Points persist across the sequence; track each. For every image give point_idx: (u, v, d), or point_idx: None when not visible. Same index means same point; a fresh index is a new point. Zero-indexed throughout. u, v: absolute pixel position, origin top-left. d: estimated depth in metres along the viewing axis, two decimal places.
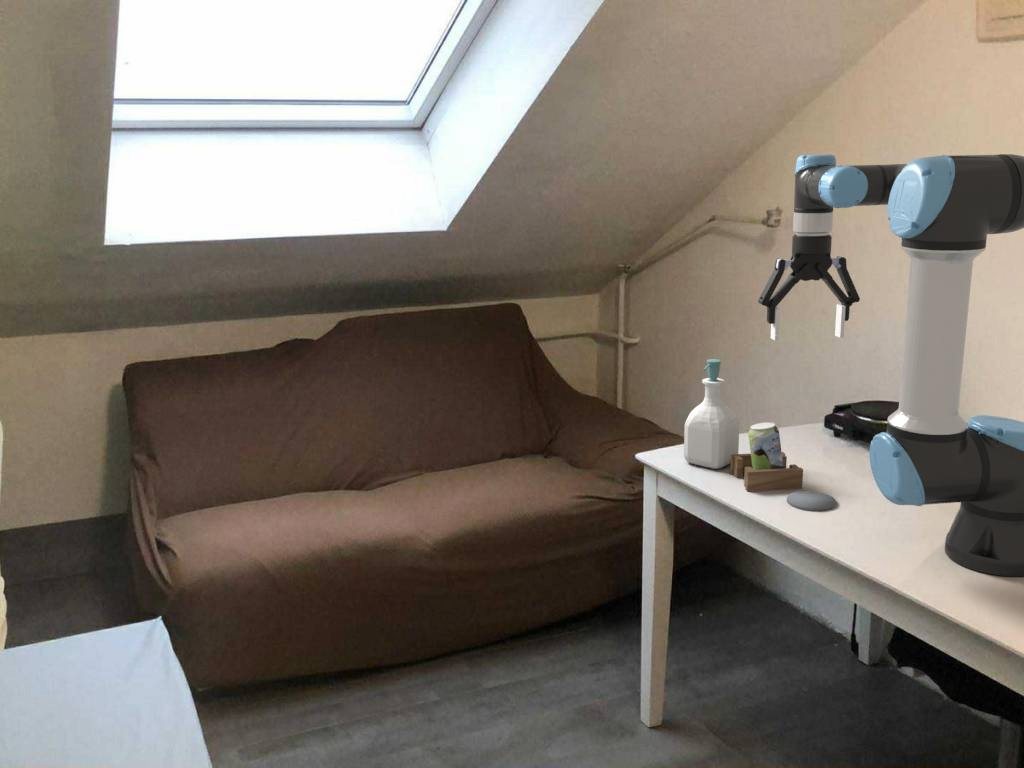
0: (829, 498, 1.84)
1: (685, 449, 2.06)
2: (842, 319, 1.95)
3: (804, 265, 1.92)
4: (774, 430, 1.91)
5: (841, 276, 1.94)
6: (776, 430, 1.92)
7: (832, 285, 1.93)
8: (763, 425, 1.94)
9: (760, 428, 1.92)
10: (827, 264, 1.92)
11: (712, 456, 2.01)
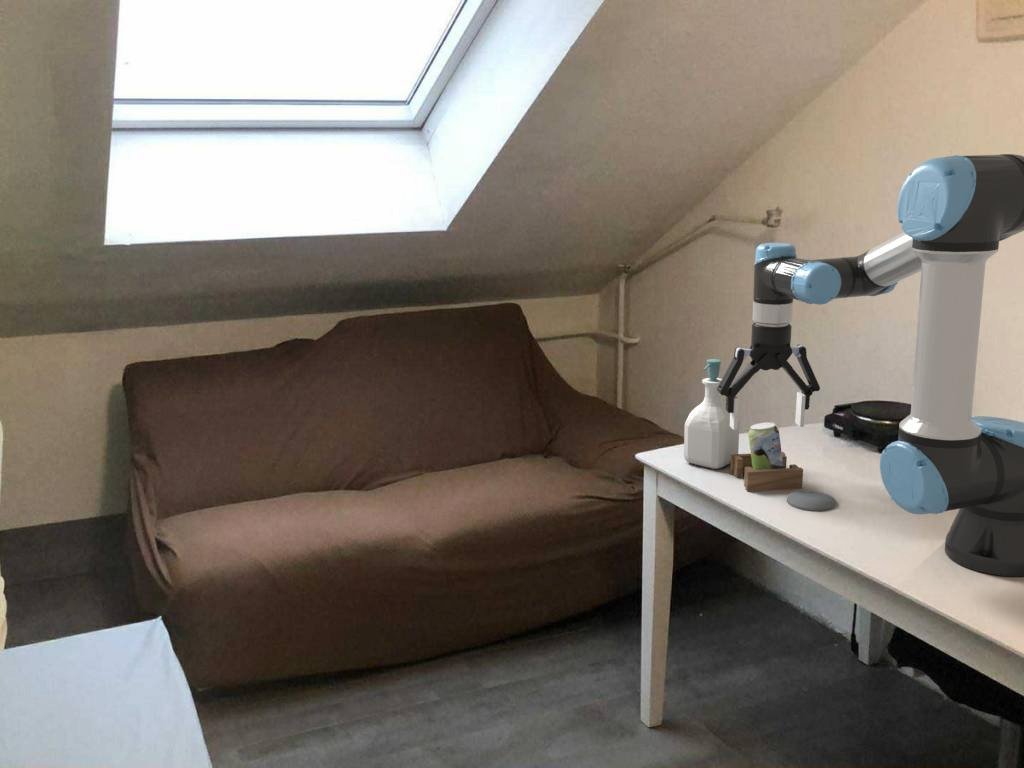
0: (829, 498, 1.84)
1: (685, 449, 2.06)
2: (802, 408, 1.92)
3: (763, 355, 1.88)
4: (774, 430, 1.91)
5: (801, 365, 1.91)
6: (776, 430, 1.92)
7: (792, 374, 1.90)
8: (763, 425, 1.94)
9: (760, 428, 1.92)
10: (787, 354, 1.89)
11: (712, 456, 2.01)
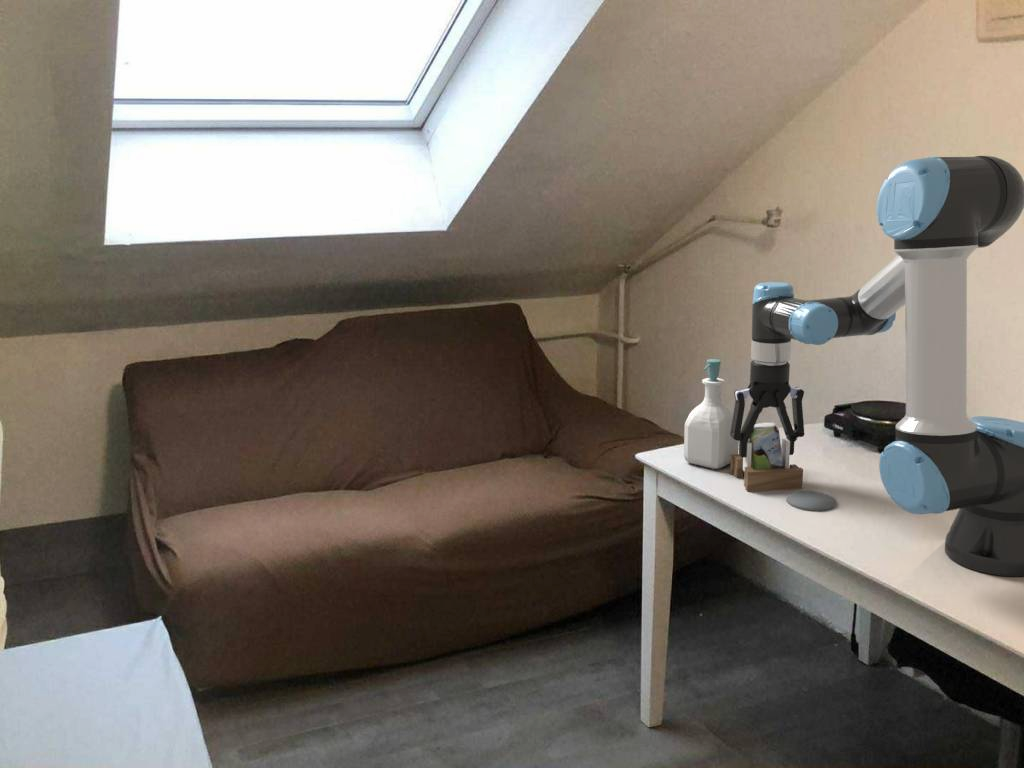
0: (829, 498, 1.84)
1: (685, 449, 2.06)
2: (787, 454, 1.93)
3: (762, 394, 1.90)
4: (774, 430, 1.91)
5: (794, 407, 1.93)
6: (776, 430, 1.92)
7: (783, 416, 1.92)
8: (763, 425, 1.94)
9: (760, 428, 1.92)
10: (785, 391, 1.90)
11: (712, 456, 2.01)
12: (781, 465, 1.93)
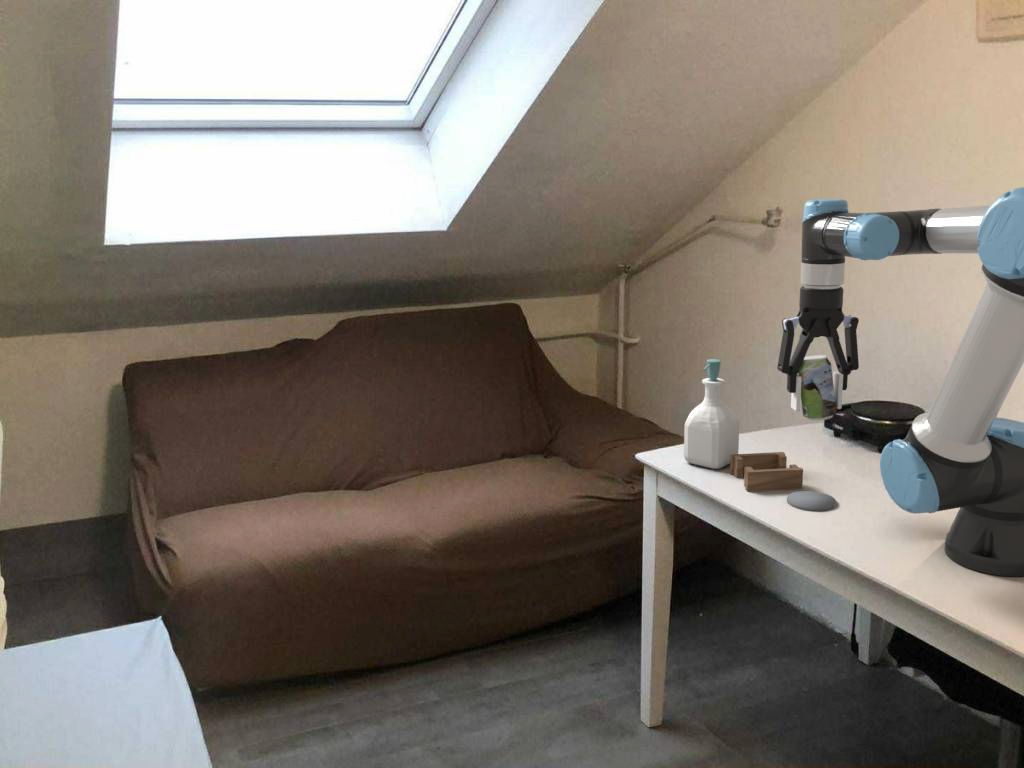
0: (829, 498, 1.84)
1: (685, 449, 2.06)
2: (840, 389, 1.77)
3: (813, 322, 1.74)
4: (826, 362, 1.75)
5: (847, 337, 1.76)
6: (828, 362, 1.76)
7: (836, 346, 1.75)
8: (813, 357, 1.77)
9: (811, 360, 1.76)
10: (838, 319, 1.74)
11: (712, 456, 2.01)
12: (833, 401, 1.77)
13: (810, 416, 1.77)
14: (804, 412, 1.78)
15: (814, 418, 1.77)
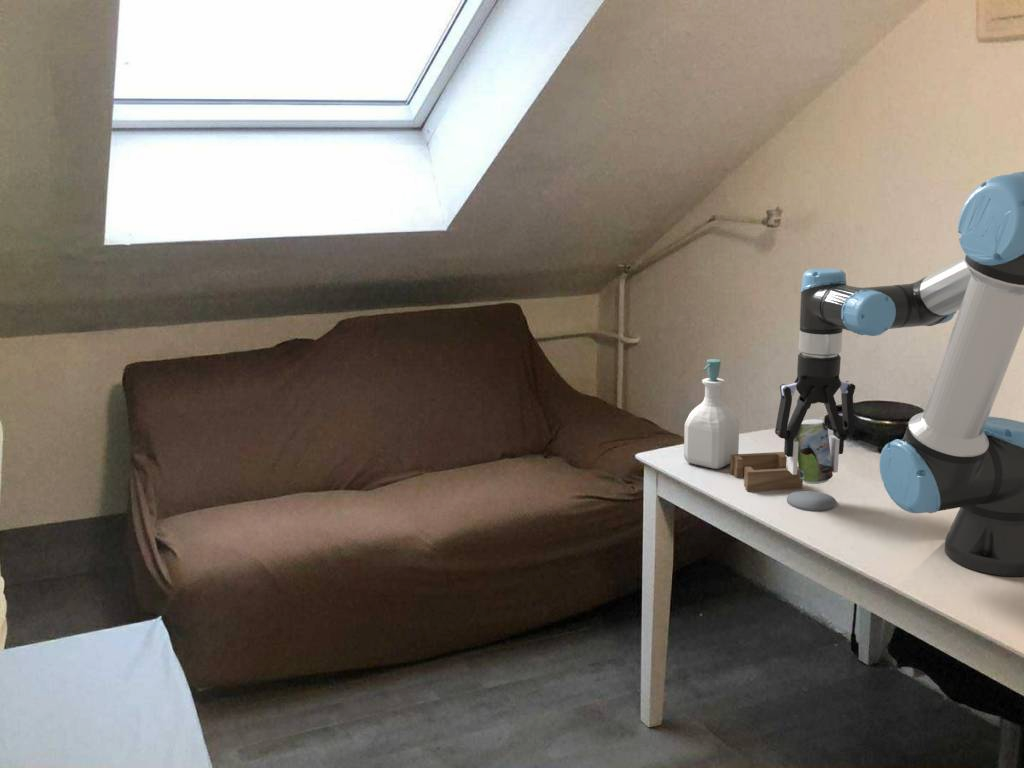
0: (829, 498, 1.84)
1: (685, 449, 2.06)
2: (836, 453, 1.80)
3: (810, 389, 1.76)
4: (823, 427, 1.78)
5: (844, 403, 1.79)
6: (825, 427, 1.79)
7: (833, 412, 1.78)
8: (810, 422, 1.80)
9: (808, 425, 1.79)
10: (835, 386, 1.77)
11: (712, 456, 2.01)
12: (830, 465, 1.80)
13: (806, 480, 1.80)
14: (800, 475, 1.82)
15: (810, 481, 1.80)
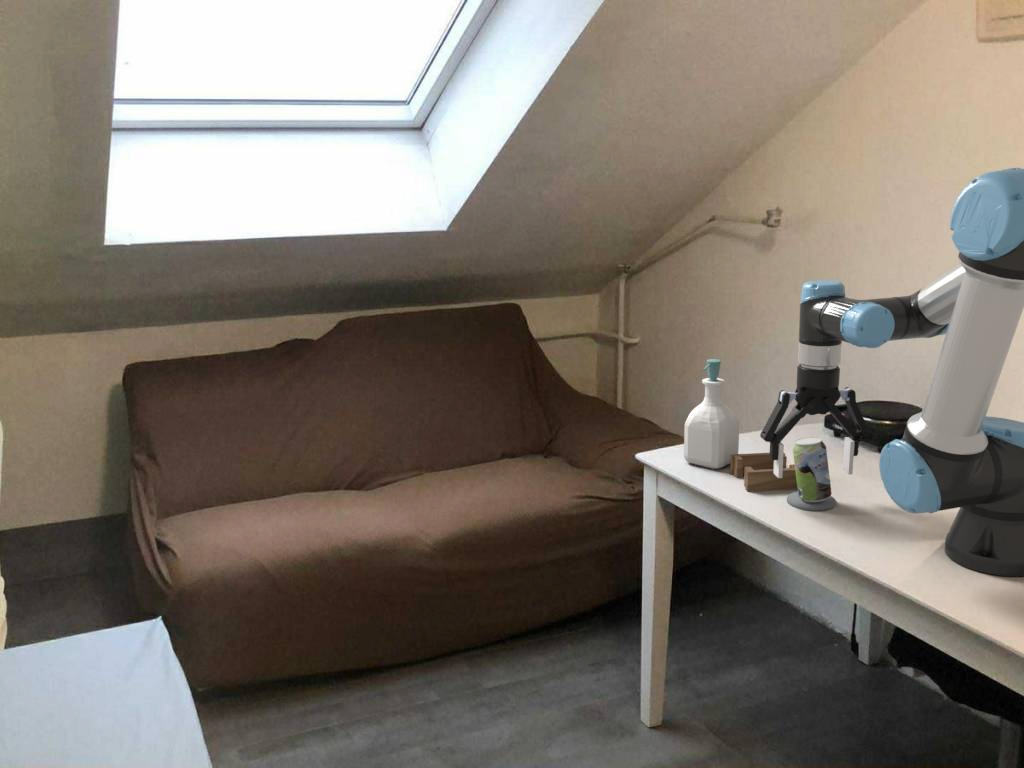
0: (829, 498, 1.84)
1: (685, 449, 2.06)
2: (851, 455, 1.80)
3: (810, 399, 1.77)
4: (821, 446, 1.79)
5: (850, 409, 1.80)
6: (823, 446, 1.79)
7: (840, 419, 1.79)
8: (809, 440, 1.81)
9: (806, 444, 1.79)
10: (835, 397, 1.78)
11: (712, 456, 2.01)
12: (828, 483, 1.80)
13: (805, 498, 1.81)
14: (799, 494, 1.82)
15: (808, 500, 1.81)
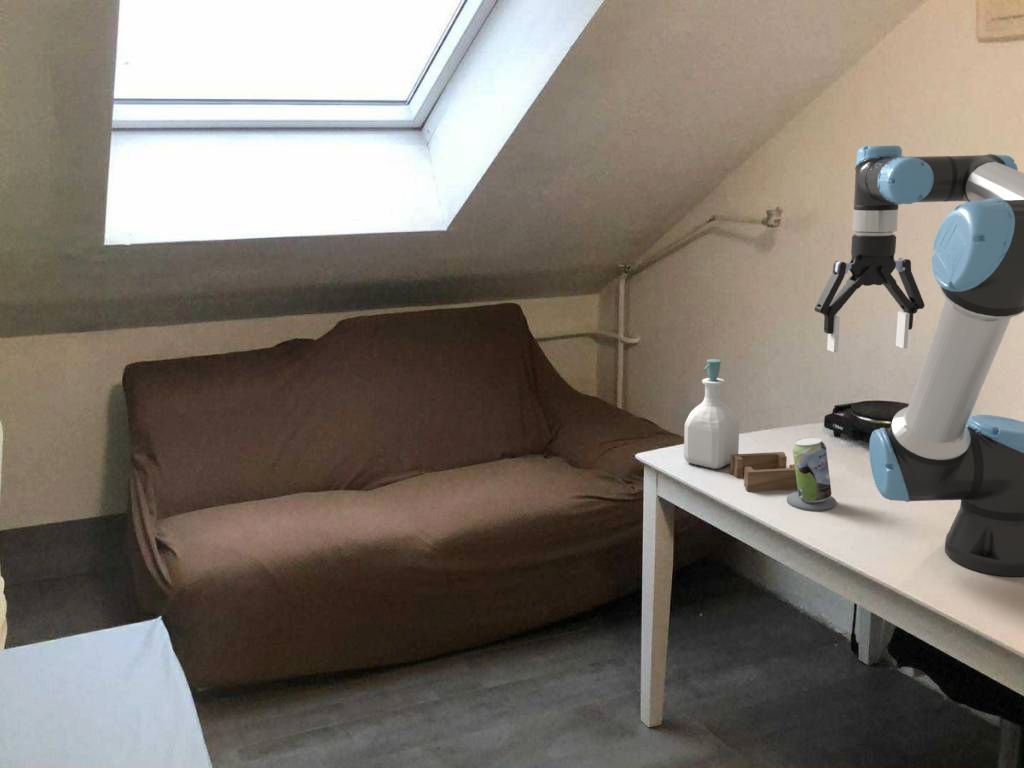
0: (829, 498, 1.84)
1: (685, 449, 2.06)
2: (906, 328, 1.77)
3: (866, 268, 1.73)
4: (821, 446, 1.79)
5: (904, 280, 1.76)
6: (823, 446, 1.79)
7: (895, 290, 1.75)
8: (809, 440, 1.81)
9: (806, 444, 1.79)
10: (890, 267, 1.74)
11: (712, 456, 2.01)
12: (828, 484, 1.80)
13: (805, 498, 1.81)
14: (799, 494, 1.82)
15: (808, 500, 1.81)
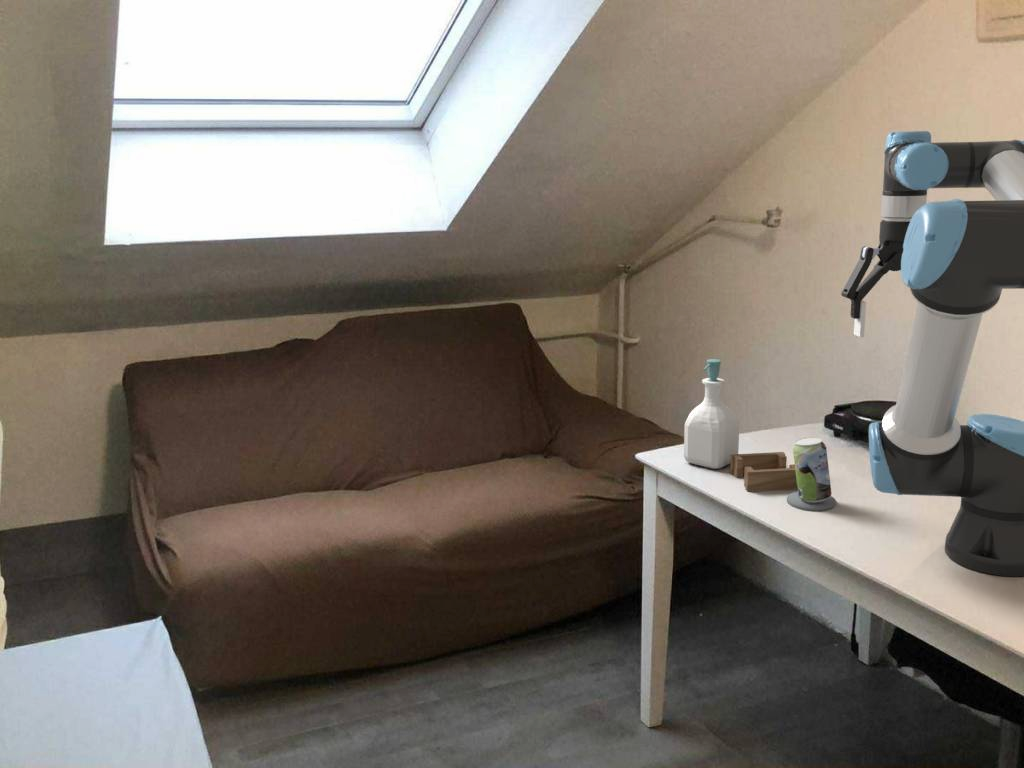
0: (829, 498, 1.84)
1: (685, 449, 2.06)
2: None
3: (894, 254, 1.74)
4: (821, 446, 1.79)
5: None
6: (823, 446, 1.79)
7: None
8: (809, 440, 1.81)
9: (806, 444, 1.79)
10: None
11: (712, 456, 2.01)
12: (828, 484, 1.80)
13: (805, 498, 1.81)
14: (799, 494, 1.82)
15: (808, 500, 1.81)
